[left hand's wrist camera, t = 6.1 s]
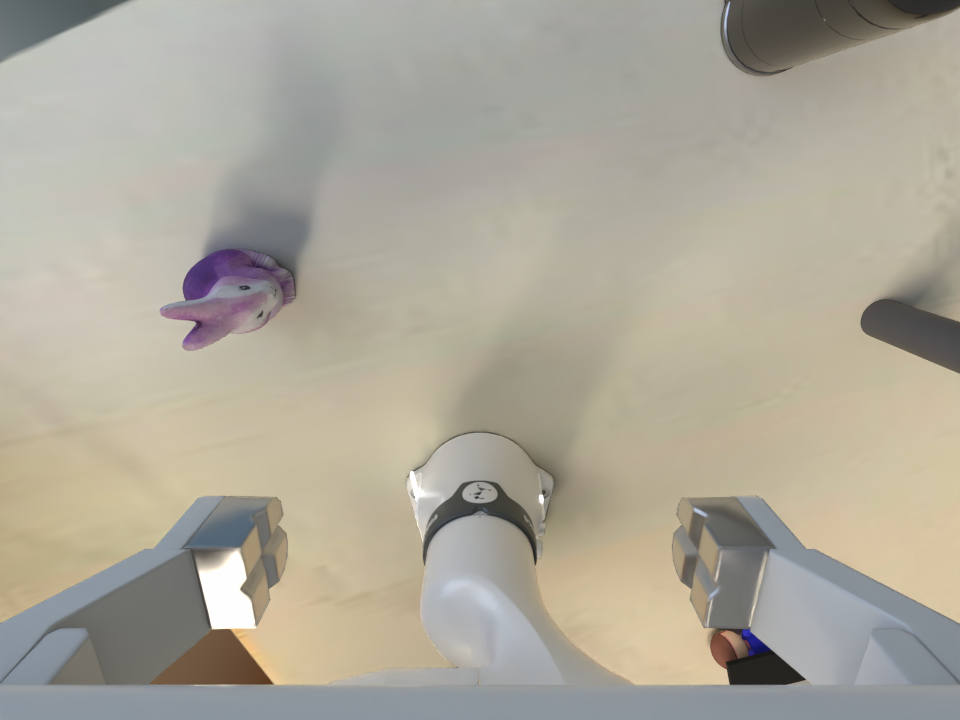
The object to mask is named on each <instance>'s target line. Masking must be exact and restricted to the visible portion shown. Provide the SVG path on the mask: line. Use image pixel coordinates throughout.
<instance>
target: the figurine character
mask: <svg viewBox="0 0 960 720" xmlns="http://www.w3.org/2000/svg"><path fill="white" fill-rule="evenodd" d="M710 647H711V653H712V655H713V657H714V659H715V660H716V662H717V663H718V664H719V665H720V666H722V667H723V668H725V669H727V672H728V677H729V683H730V685H787V684H791V683H795V682H799V681H803V680H806V679H805V678H804V677H803V676H802V675H800V674H799V673H798V672H797V671H796V670H795V669H793V668H792V667H791V666H790V665H789V664H788V663H786V662H785V661H784V660H783V659H782V658H781V657H779V656H778V655H777V654H776V653H775V652H774V651H772V650H771V649H770V648H769V647H768V646H767V645H765V644H764V643H763V642H762V641H761V640H760V639H758V638H757V637H756V636H755V635H754V634H752V633H751V632H750V629H748V630H747V629H743V630H742V638H741V637H740V636H739V635H738V634H736V633H734V632H732V631H728V630H723V631H719V632H717V633H716V634H715V635H714V636H713V638H712V640H711V645H710Z"/></svg>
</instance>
